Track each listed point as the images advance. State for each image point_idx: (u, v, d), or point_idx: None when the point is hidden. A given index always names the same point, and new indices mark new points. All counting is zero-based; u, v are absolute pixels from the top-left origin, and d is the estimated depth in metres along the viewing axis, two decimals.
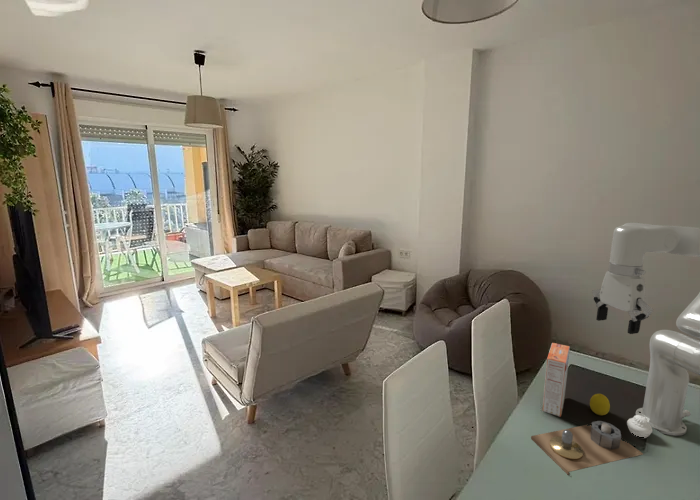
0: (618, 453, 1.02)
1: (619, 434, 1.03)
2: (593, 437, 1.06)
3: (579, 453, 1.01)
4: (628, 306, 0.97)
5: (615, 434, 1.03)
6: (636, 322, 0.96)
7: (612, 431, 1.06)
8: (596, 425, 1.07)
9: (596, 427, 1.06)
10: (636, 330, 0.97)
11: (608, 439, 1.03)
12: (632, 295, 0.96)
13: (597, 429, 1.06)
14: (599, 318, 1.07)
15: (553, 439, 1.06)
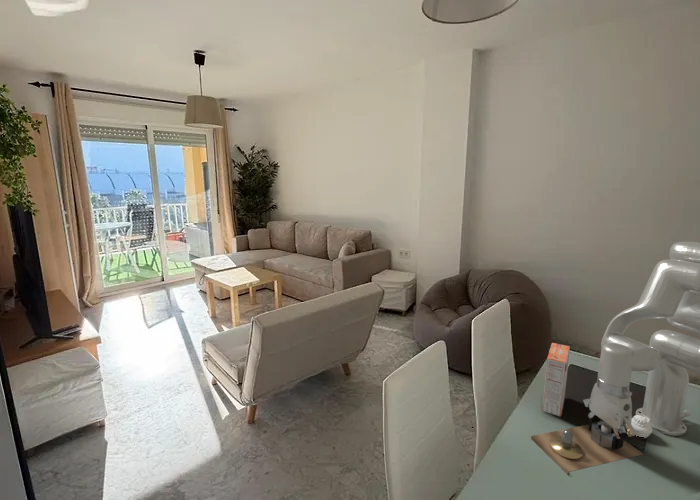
0: (618, 453, 1.02)
1: None
2: (593, 437, 1.06)
3: (579, 453, 1.01)
4: (615, 424, 1.00)
5: None
6: (619, 439, 1.01)
7: (612, 431, 1.06)
8: (596, 425, 1.07)
9: (596, 427, 1.06)
10: (619, 446, 1.01)
11: (608, 439, 1.03)
12: (619, 414, 0.99)
13: (597, 429, 1.06)
14: None
15: (553, 439, 1.06)
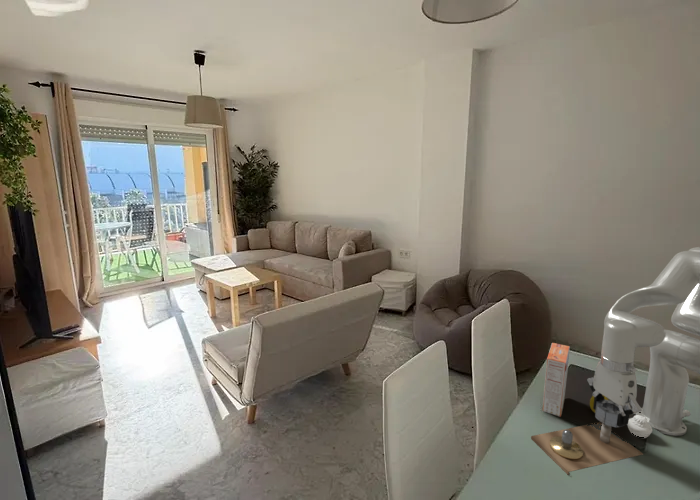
0: (618, 453, 1.02)
1: None
2: (598, 415, 1.05)
3: (579, 453, 1.01)
4: (620, 401, 0.99)
5: None
6: (625, 416, 1.00)
7: (617, 409, 1.05)
8: (601, 403, 1.06)
9: (601, 405, 1.05)
10: (625, 423, 1.00)
11: (613, 417, 1.02)
12: (624, 391, 0.98)
13: (602, 407, 1.04)
14: None
15: (553, 439, 1.06)
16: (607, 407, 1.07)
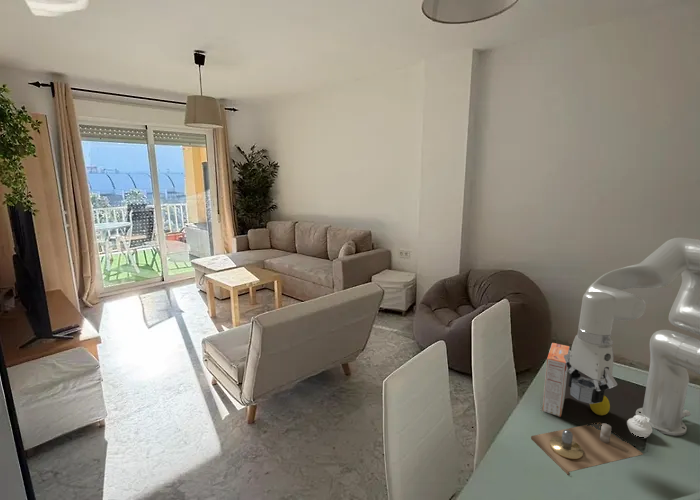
0: (618, 453, 1.02)
1: None
2: (572, 391, 1.01)
3: (579, 453, 1.01)
4: (596, 375, 0.95)
5: (595, 388, 0.98)
6: (600, 392, 0.95)
7: (593, 386, 1.00)
8: (576, 380, 1.02)
9: (576, 381, 1.01)
10: (600, 400, 0.96)
11: (588, 392, 0.97)
12: (599, 364, 0.94)
13: (577, 383, 1.00)
14: None
15: (553, 439, 1.06)
16: (583, 384, 1.03)
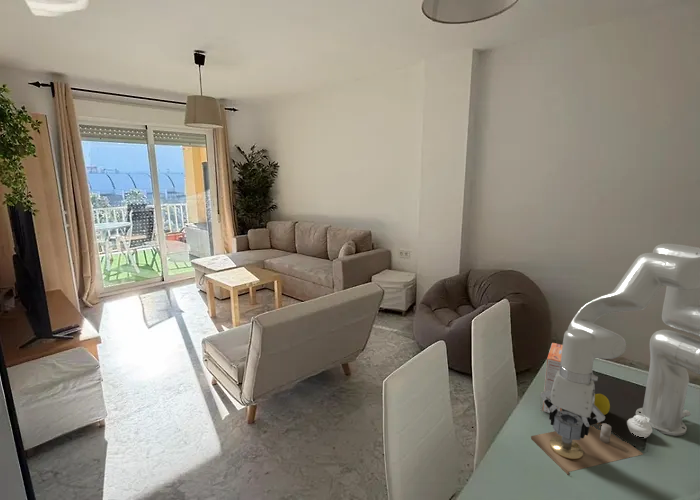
0: (618, 453, 1.02)
1: (582, 420, 1.01)
2: (561, 431, 1.00)
3: (579, 453, 1.01)
4: (586, 412, 0.96)
5: (579, 422, 1.00)
6: (588, 427, 0.98)
7: (572, 419, 1.03)
8: (560, 418, 1.02)
9: (562, 420, 1.01)
10: (587, 434, 0.98)
11: (577, 430, 0.98)
12: (590, 402, 0.95)
13: (564, 422, 1.00)
14: None
15: (553, 439, 1.06)
16: (562, 419, 1.04)
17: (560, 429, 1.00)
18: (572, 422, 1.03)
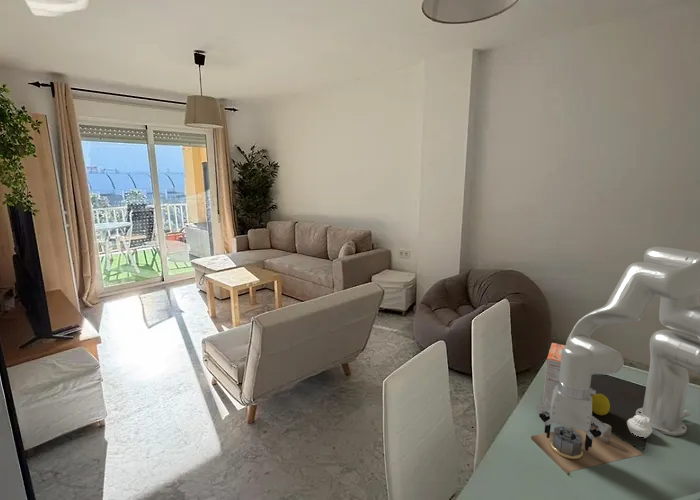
0: (618, 453, 1.02)
1: (579, 434, 1.02)
2: (563, 449, 1.00)
3: None
4: (587, 427, 0.98)
5: (577, 436, 1.02)
6: None
7: None
8: (560, 435, 1.02)
9: (562, 437, 1.01)
10: None
11: (578, 445, 0.99)
12: (590, 416, 0.97)
13: (565, 440, 1.00)
14: None
15: None
16: (560, 435, 1.05)
17: (562, 447, 1.01)
18: None
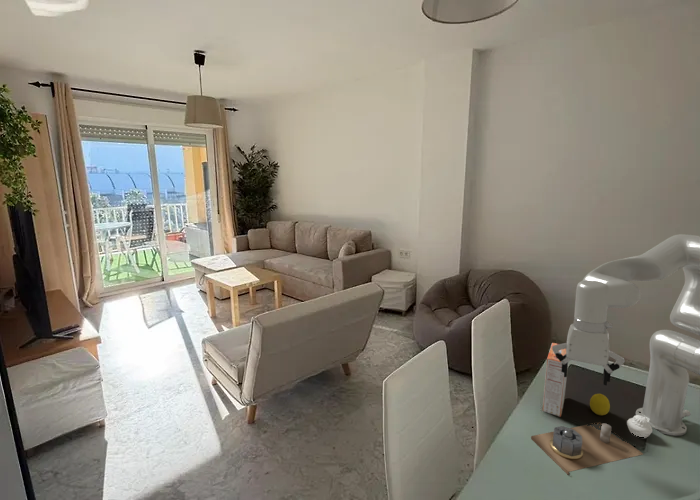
0: (618, 453, 1.02)
1: (579, 434, 1.02)
2: (563, 449, 1.00)
3: None
4: (604, 360, 0.97)
5: (577, 436, 1.02)
6: (610, 373, 0.98)
7: None
8: (560, 435, 1.02)
9: (562, 437, 1.01)
10: (609, 380, 0.99)
11: (578, 445, 0.99)
12: (608, 350, 0.96)
13: (565, 440, 1.00)
14: (566, 374, 1.04)
15: None
16: (560, 435, 1.05)
17: (562, 447, 1.01)
18: None
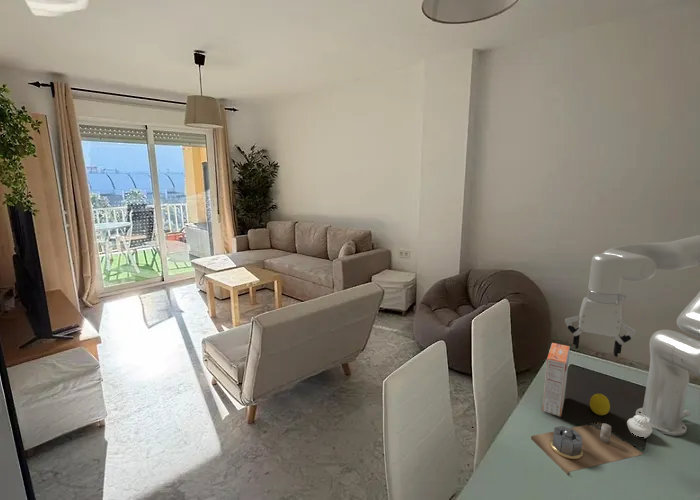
0: (618, 453, 1.02)
1: (579, 434, 1.02)
2: (563, 449, 1.00)
3: None
4: (616, 332, 1.00)
5: (577, 436, 1.02)
6: (621, 344, 1.01)
7: None
8: (560, 435, 1.02)
9: (562, 437, 1.01)
10: None
11: (578, 445, 0.99)
12: (620, 321, 0.99)
13: (565, 440, 1.00)
14: None
15: None
16: (560, 435, 1.05)
17: (562, 447, 1.01)
18: None
